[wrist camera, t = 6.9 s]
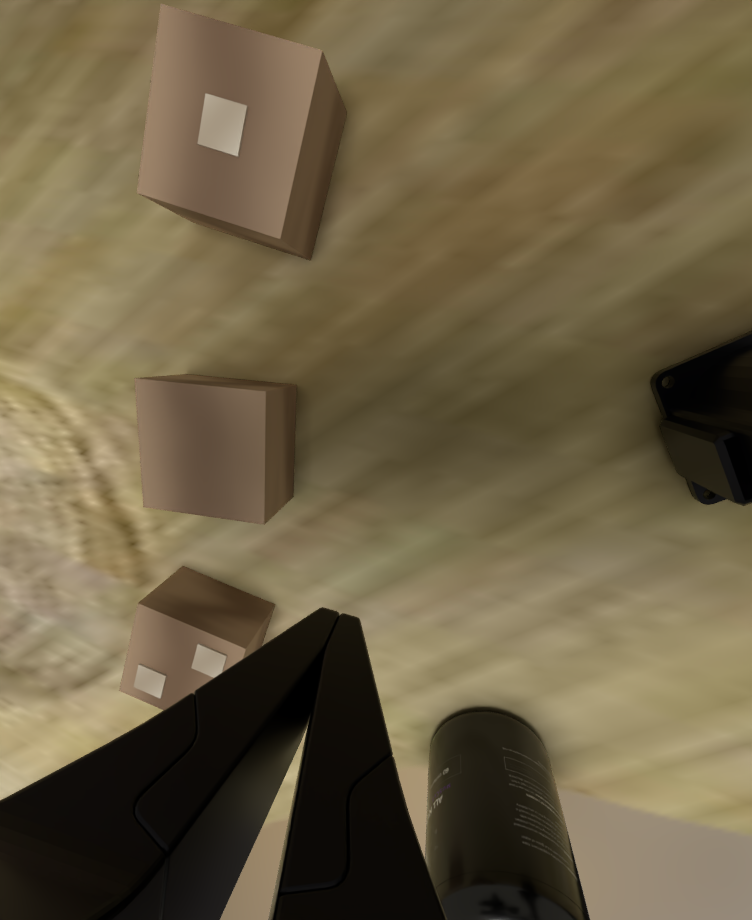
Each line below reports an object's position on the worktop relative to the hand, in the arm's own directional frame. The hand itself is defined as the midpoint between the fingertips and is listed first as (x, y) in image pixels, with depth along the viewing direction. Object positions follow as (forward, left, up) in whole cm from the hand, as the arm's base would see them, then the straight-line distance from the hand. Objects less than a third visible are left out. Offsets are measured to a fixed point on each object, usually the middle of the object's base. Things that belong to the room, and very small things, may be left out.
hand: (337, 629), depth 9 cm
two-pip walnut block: (+15, +4, -13) cm, 20 cm away
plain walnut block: (+7, -5, -13) cm, 16 cm away
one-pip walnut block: (-1, -15, -13) cm, 20 cm away
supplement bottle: (+3, +18, -13) cm, 23 cm away
